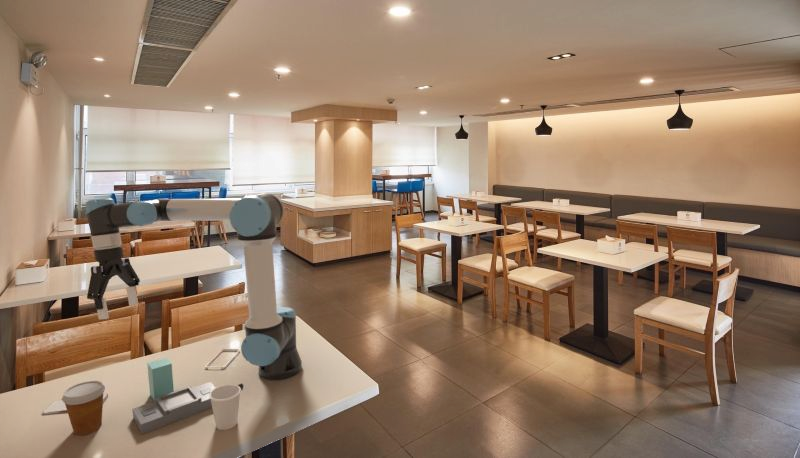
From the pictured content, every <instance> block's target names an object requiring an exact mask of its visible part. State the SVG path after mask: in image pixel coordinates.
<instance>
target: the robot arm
mask: <svg viewBox="0 0 800 458" xmlns="http://www.w3.org/2000/svg"><path fill="white" fill-rule="evenodd" d="M85 211H86V212H85V216H86V218H87V223H88V227H89V231H90V237H91V243H92V248H93V249H94V251H93V254H94V255H93V256H94V260H95V262H98V264H99V265H96V266H94V265H93V266H91V267H90V278H89V279H90V280H89V284H88V289H87V290H88V291H87V295H86V298H87V299H88V300H91V301H92V300H93V302H94V308H95V310H96V311H97V317H98V320H107V319H110V316H109V310H108V304H107V301H106V300H107V299H106V297H104V294H105V292H106V290H107V288H108V283H109V282H110V280H111V279H112V278H114V277H115V276H118V278H119V279H120V280H121V281H123V283H124V284H125V285H127V286H126V287H125V289H126V295H127V299H128V300H127V301H128V306H129V307H132V306H139V301H138V300H139V299H138V292H137V286H139V285H140V282H141V279H140V277H139V276H138V275H137V273H136V271H135V269H134V268H133V266H132V264H131V261H130V258H129V257H124V256H125V255H124V249H123V246H121V245H122V244H123V243H122V242H123V241H122V238H121V237H122V236H121V231H120V229H121V228H128V227H143V226H147V225H152V224H153V223H155V222H171V221H172V222H173V221H175V222H176V221H177V222H178V221H181V222H182V221H184V222H185V221H191V222H192V221H193V222H195V221H197V222H198V221H201V222H202V221H207V222H208V221H210V222H211V221H212V222H213V221H215V222H217V221H222V222H224V221H229V222H230V225H231V227H232V228H233V230H234V231H235V232H236V234H237V235H236V236H237V241H238V242H240V244H242V246H243V257H244V268H245V269H244V270H245V278H246V293H247V305H248V315H249V317H248V319H246V321H245V323H244V329H245V338H244V339H243V340H242V343H241V345H240V353H241V355H242V357H243V358H244V359H245V360H246V362H249V364H251V365H253V366H257V367H258V374H259V376H260V377H262V378H264V379H267V380H283V379H284V380H285V379H288V378H290V377H293V376H296V375H297V374H299V373H300V372H301V370H302V368H303V363H302V359H301V356H300V353H299V350H298V348H297V323H296V322H297V320H296V319H297V316H296V311H295V310H294V308H291V307H286V306H278V305H277V292H276V290H277V289H276V279H275V278H276V277H275V266H274V265H275V264H274V263H275V262H274V253H273V252H274V250H273V242H274V241H275V240H276V238H277V237H278V235H277V225H278V224H279V223H280V222H281V220H282V219H283V217H284V206H283V204H282V201H281V200H280V198H278V197H277V196H275V195H273V194H272V193H271V194H270V193H265V192H263V193H258V194H252V195H245V196H244V197H241V198H171V199H170V198H166V197H165V198H164V197H163V198H161V197H160V198H156V199H150V200H149V199H148V200H140V201H133V202H123V203H122V202H121V203H115V200H114V199H113V198H99V199H98V198H97V199H89V200H87V201H86V202H85Z"/></svg>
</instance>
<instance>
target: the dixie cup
mask: <svg viewBox="0 0 800 458" xmlns="http://www.w3.org/2000/svg"><path fill="white" fill-rule="evenodd" d="M237 385H238V384H237ZM237 385H236V384H234V383H233V384H230V383H229V384H222V385H219V386H217V387H216V388H215V389H213V390H212V391H211V392H210V394H209V398H210V399H211V404H212V407H211V408H212V412H213V413H212V414H213V418H214V423H215V427H216V429H218V430H219V431H227V430H231V429H232V428H234V427H235V426H237V424H238V418H239V407H240V399H241V398H240V396H241V391H242V387H241V388H240V387H239V386H237Z"/></svg>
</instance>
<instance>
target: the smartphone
mask: <svg viewBox="0 0 800 458" xmlns="http://www.w3.org/2000/svg"><path fill="white" fill-rule="evenodd" d="M108 397H109V394H108V393H103V403H104V402H105V401H106V400H107V399H108ZM61 413H68V412H67V408H66V405H65V403H64V402H63V401H62V398H61V399H56V400H54V401H52V402H51V403H50V404H49V405H48V406H47V407H46V408H45V409H44V410H43V411H42V413H41V414H42V415H51V414H52V415H54V414H61Z"/></svg>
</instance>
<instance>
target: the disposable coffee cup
mask: <svg viewBox="0 0 800 458" xmlns="http://www.w3.org/2000/svg"><path fill="white" fill-rule="evenodd" d="M105 390H106V386H105V385H104V383H103V382H102V381H100V380H87V381H82V382H79V383H76V384H74V385H71V386H70V387H68V388H66V390H65V391H63V395H62V398H61V399H62V401H63V402H64V403H65V405H66V408H67V412H66V413H67V416H68V418H69V421H70V424H71V428H72V431H73V434H74V435H77V436H83V435H84V436H85V435H88V434H91V433H93V432H95V431H97V430H99V428H101V427H102V424H103V407H104V405H103V403H104V402H103V394H105Z"/></svg>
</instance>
